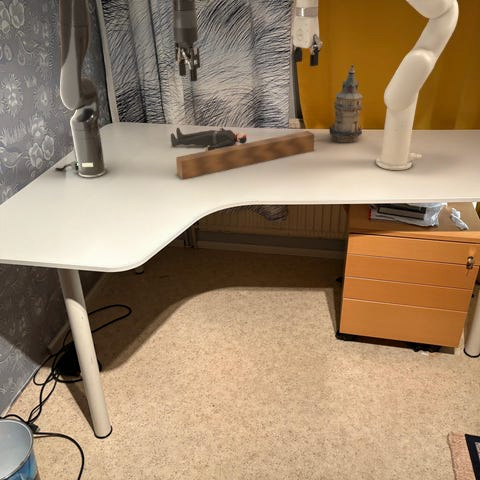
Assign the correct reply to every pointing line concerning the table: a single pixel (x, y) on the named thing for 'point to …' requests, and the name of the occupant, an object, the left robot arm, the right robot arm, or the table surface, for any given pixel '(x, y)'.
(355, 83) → the miniature building
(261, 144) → the post
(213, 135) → the toy
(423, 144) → the table surface
